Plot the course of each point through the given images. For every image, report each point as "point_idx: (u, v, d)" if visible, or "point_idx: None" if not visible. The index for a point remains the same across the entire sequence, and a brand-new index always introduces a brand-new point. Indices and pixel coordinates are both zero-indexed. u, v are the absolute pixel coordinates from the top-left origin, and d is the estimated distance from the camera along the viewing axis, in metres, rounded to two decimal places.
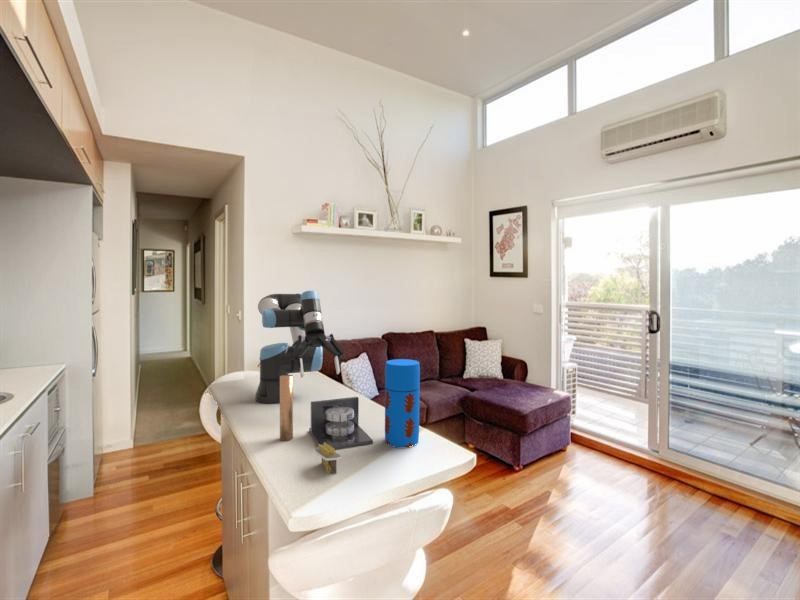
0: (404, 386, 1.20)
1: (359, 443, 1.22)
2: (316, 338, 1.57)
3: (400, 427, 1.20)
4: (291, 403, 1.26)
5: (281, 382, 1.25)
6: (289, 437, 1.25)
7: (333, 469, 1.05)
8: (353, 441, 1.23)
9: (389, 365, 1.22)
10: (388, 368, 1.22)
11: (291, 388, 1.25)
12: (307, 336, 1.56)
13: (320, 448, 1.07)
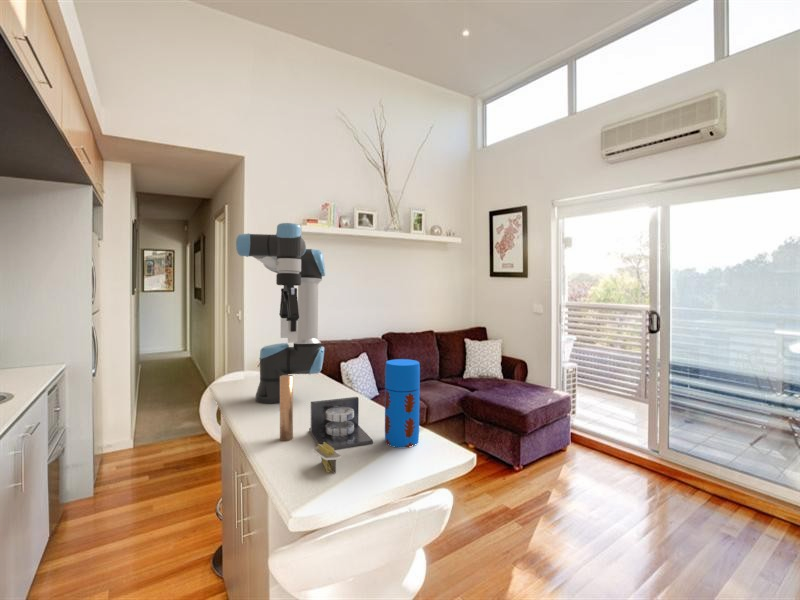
0: (404, 386, 1.20)
1: (359, 443, 1.22)
2: None
3: (400, 427, 1.20)
4: (291, 403, 1.26)
5: (281, 382, 1.25)
6: (289, 437, 1.25)
7: (332, 469, 1.05)
8: (353, 441, 1.23)
9: (389, 365, 1.22)
10: (388, 368, 1.22)
11: (291, 388, 1.25)
12: (283, 290, 1.29)
13: (320, 448, 1.07)
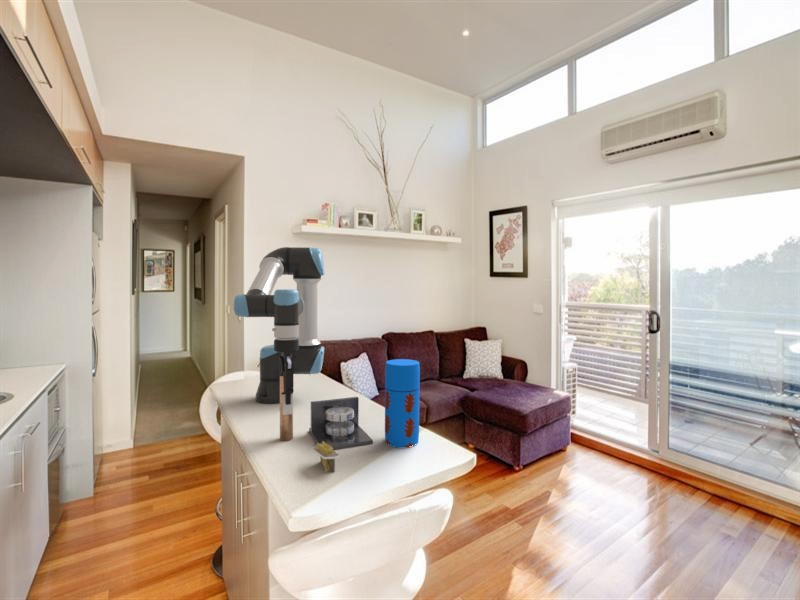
0: (404, 386, 1.20)
1: (359, 443, 1.22)
2: (282, 357, 1.25)
3: (400, 427, 1.20)
4: None
5: (281, 382, 1.25)
6: (289, 437, 1.25)
7: (331, 468, 1.05)
8: (353, 441, 1.23)
9: (389, 365, 1.22)
10: (388, 368, 1.22)
11: None
12: (281, 354, 1.29)
13: (319, 447, 1.08)
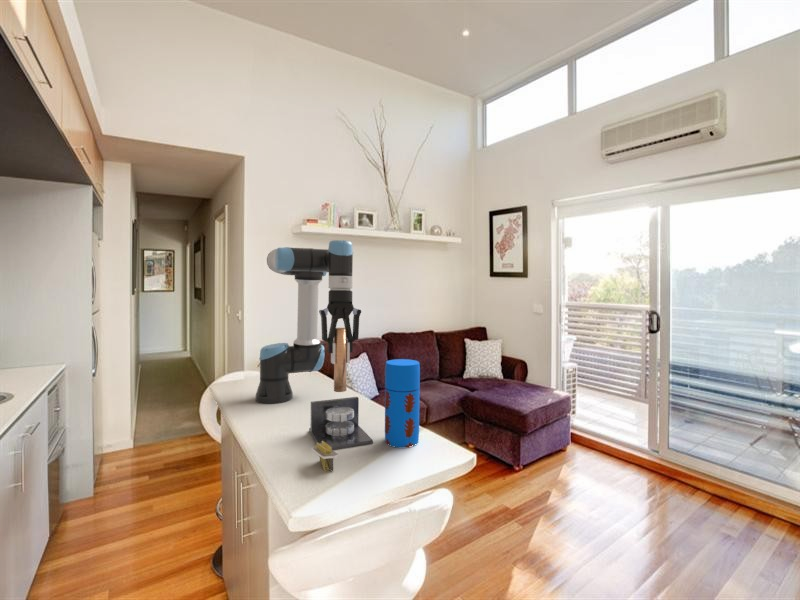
0: (404, 386, 1.20)
1: (359, 443, 1.22)
2: (341, 308, 1.26)
3: (400, 427, 1.20)
4: None
5: (345, 333, 1.26)
6: None
7: (330, 467, 1.06)
8: (353, 441, 1.23)
9: (389, 365, 1.22)
10: (388, 368, 1.22)
11: None
12: (330, 307, 1.25)
13: (318, 446, 1.08)
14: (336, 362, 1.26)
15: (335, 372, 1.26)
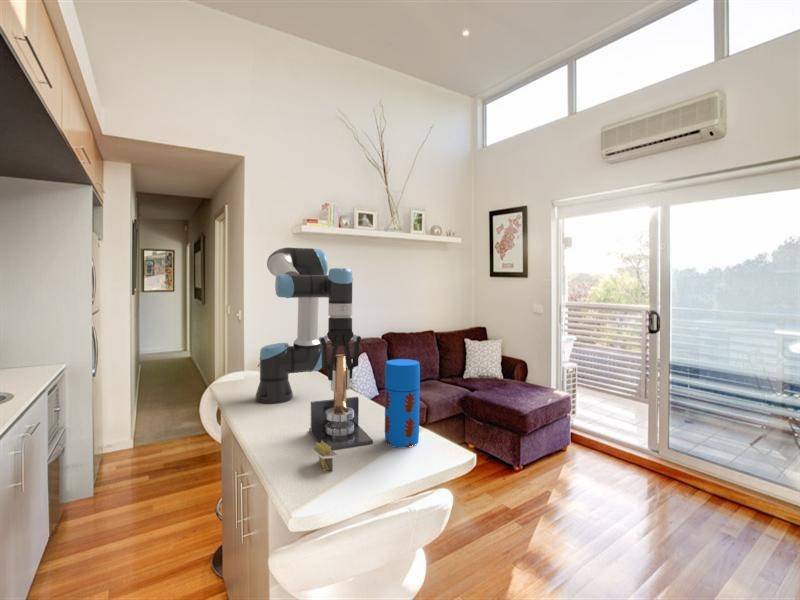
0: (404, 386, 1.20)
1: (359, 443, 1.22)
2: (341, 335, 1.27)
3: (400, 427, 1.20)
4: None
5: (344, 361, 1.27)
6: None
7: (329, 467, 1.06)
8: (353, 441, 1.23)
9: (389, 365, 1.22)
10: (388, 368, 1.22)
11: None
12: (330, 335, 1.25)
13: (317, 446, 1.08)
14: (336, 389, 1.26)
15: (335, 399, 1.27)
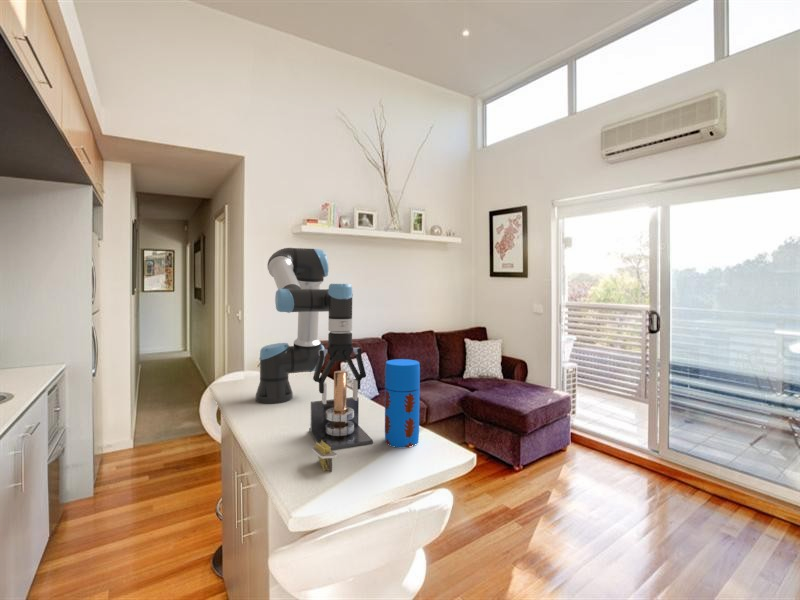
0: (404, 386, 1.20)
1: (359, 443, 1.22)
2: (341, 351, 1.27)
3: (400, 427, 1.20)
4: None
5: (345, 378, 1.27)
6: None
7: (329, 467, 1.06)
8: (353, 441, 1.23)
9: (389, 365, 1.22)
10: (388, 368, 1.22)
11: None
12: (330, 350, 1.25)
13: (317, 446, 1.08)
14: (336, 406, 1.27)
15: None
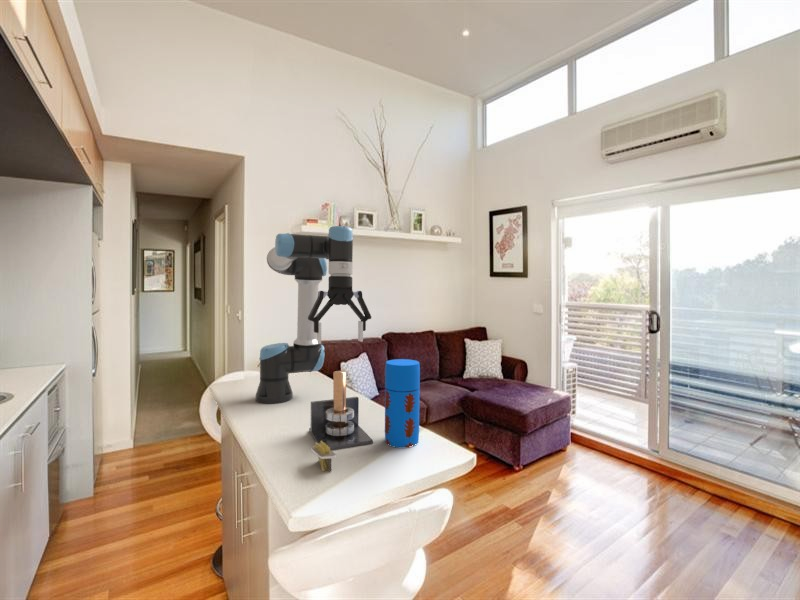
0: (404, 386, 1.20)
1: (359, 443, 1.22)
2: (341, 296, 1.26)
3: (400, 427, 1.20)
4: None
5: (344, 378, 1.27)
6: None
7: (328, 467, 1.06)
8: (353, 441, 1.23)
9: (389, 365, 1.22)
10: (388, 368, 1.22)
11: None
12: (331, 292, 1.25)
13: (316, 446, 1.08)
14: (335, 406, 1.27)
15: None
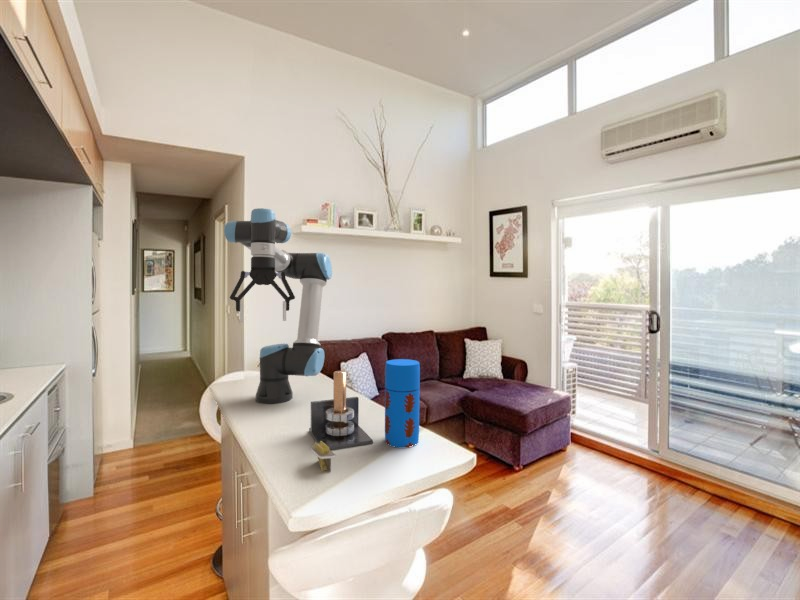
0: (404, 386, 1.20)
1: (359, 443, 1.22)
2: (263, 276, 1.31)
3: (400, 427, 1.20)
4: None
5: (344, 377, 1.27)
6: None
7: (328, 467, 1.06)
8: (353, 441, 1.23)
9: (389, 365, 1.22)
10: (388, 368, 1.22)
11: None
12: (252, 273, 1.29)
13: (316, 446, 1.08)
14: (336, 406, 1.27)
15: None
